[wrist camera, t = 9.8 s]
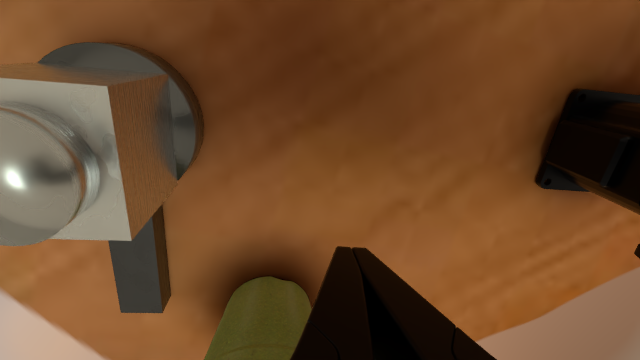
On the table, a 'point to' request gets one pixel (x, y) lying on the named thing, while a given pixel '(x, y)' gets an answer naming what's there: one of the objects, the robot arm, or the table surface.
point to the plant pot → (261, 321)
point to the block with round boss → (82, 152)
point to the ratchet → (188, 130)
